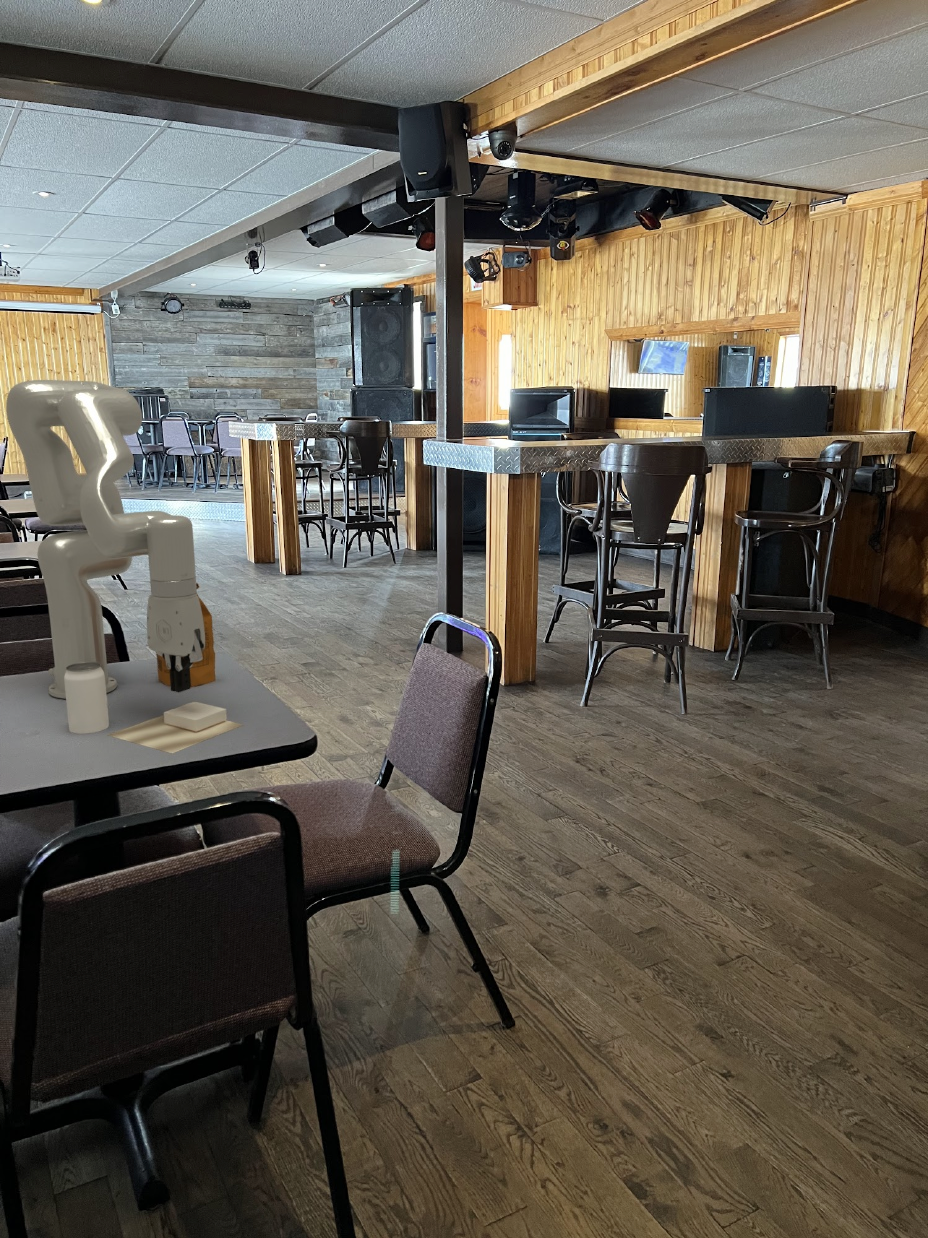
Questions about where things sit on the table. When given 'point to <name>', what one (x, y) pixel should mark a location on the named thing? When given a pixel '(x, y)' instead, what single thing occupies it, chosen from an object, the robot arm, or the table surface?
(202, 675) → the coffee package
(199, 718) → the tile
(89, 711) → the can
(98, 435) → the robot arm
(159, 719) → the cloth
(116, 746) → the table surface
